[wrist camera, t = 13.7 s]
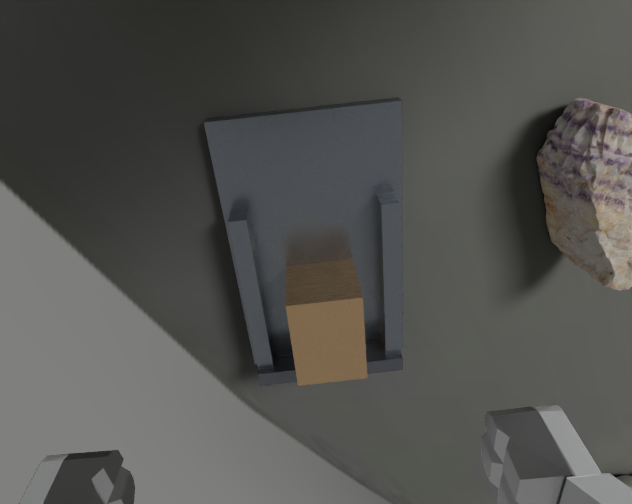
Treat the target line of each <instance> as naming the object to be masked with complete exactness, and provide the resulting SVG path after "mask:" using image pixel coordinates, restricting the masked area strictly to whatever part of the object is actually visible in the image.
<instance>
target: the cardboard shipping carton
mask: <svg viewBox="0 0 632 504" xmlns="http://www.w3.org/2000/svg"><path fill="white" fill-rule="evenodd" d="M286 312H287V319H288V325H289V331H290V338H291V344H292V351H293V357H294V363H295V370H296V376H297V383H298V386H301V385H310V384H318V383H327V382H336V381H345V380H354V379H363V378H367V361H366V343H365V326H364V308H363V296H362V292H361V288H360V284H359V280H358V276H357V272H356V269H355V265H354V261H353V259H350V260H341V261H332V262H323V263H314V264H305V265H296V266H287V267H286Z"/></svg>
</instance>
